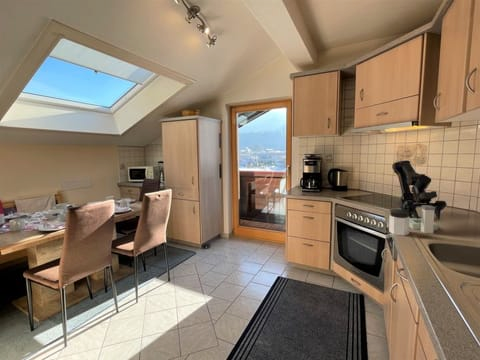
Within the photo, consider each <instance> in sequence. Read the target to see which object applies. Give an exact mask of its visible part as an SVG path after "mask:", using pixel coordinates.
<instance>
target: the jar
mask: <svg viewBox="0 0 480 360" xmlns="http://www.w3.org/2000/svg"><path fill="white" fill-rule="evenodd" d="M388 218H389V220H388V221H389V222H388V230H389V231H388V232H389V233H391V234H392V235H396V236H403V237H404V236H407V235H409V234H410V227H409V223H410V217H409V212H408V211H406V210H402V209H401V208H397V209H396V208H393V209H390V214H389V217H388Z"/></svg>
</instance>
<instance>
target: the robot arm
mask: <svg viewBox="0 0 480 360" xmlns="http://www.w3.org/2000/svg"><path fill="white" fill-rule="evenodd" d="M392 170H393V172H394V174H396V175H397V177H398V182H399V187H400V191H401V196H400V198H399V201H398V203H397V205H398V206H397V207H398V209H401V210H406V211H408V212H409V217H410V218H417V219H419V218H420V216H419V214H418V211H417V207H418V208H419V207H420V208H421V206H422V205H431V206H433V207H435V210H434V216H435V217H436V219H437V220H438V221H439V220H440V219H441V211H443V210H444V209H445V208H446V207H447V205H448V204H447V202H446V200H435V202H432V200H433V199H435V198H437V197H438V194H437V191H435V190H432V191H429V192H428V191H427V192H426V189H428V187H429V185H430V184H431V183H432V178H431V177H429V175H426V173H421V174H420V173H418V172H416V170H415V169H414V167H413V166H412V164H411V161H410V160H406V159H405V160H400V161H397V162H394V163H392ZM411 186H412V187H411Z"/></svg>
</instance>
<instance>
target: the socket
mask: <svg viewBox="0 0 480 360" xmlns="http://www.w3.org/2000/svg"><path fill="white" fill-rule="evenodd" d="M438 228H439V227H438V224H437V223H435V222H434V226H433V231H438ZM409 229H411V230H416V231H417V230H419V231H421V217H419V219H417V218H416V217H414V218H410V223H409Z"/></svg>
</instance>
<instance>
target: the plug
mask: <svg viewBox="0 0 480 360" xmlns="http://www.w3.org/2000/svg"><path fill="white" fill-rule="evenodd" d="M420 208H421V216H420V218H421V230H420V231H421V232H422V233H424V234H434V230H433V226H434V223H435V221H434V220H435V213H434V210H435V207H433V206H431V205H422V206H421V207H420Z"/></svg>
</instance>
